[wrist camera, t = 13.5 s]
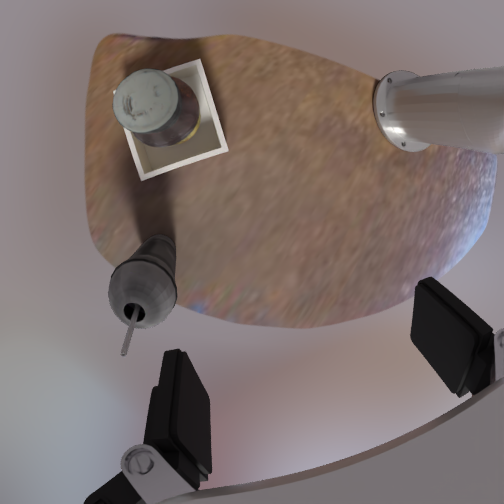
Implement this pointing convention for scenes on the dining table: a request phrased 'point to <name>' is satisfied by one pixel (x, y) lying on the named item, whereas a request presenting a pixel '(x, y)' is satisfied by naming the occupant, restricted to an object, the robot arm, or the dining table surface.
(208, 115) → the box
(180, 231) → the dining table surface
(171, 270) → the beverage cup
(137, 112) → the sauce bottle
